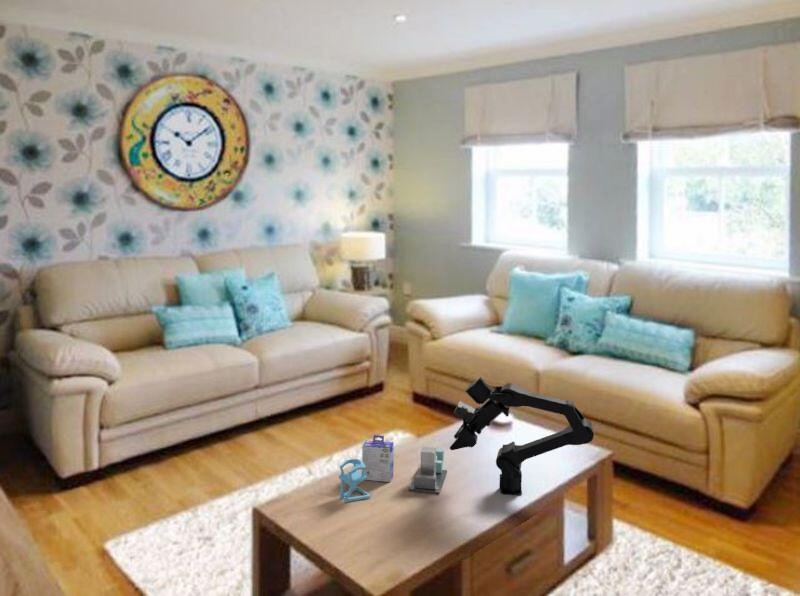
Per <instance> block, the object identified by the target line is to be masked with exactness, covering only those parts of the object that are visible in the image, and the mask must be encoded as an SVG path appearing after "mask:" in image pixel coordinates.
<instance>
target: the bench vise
mask: <svg viewBox="0 0 800 596" xmlns="http://www.w3.org/2000/svg"><path fill="white" fill-rule="evenodd" d="M447 474H448V470H447V469H442V473H436V476H428V475H421V467H417V469H416V472H415V474H414V476H413V478H412V480H411V483H410V486H409V488H408V492H413V493H422V494H431V495H440V494H441V490H442V489H443V486H444V483H445V479H446V476H447Z"/></svg>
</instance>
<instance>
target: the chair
mask: <svg viewBox="0 0 800 596" xmlns="http://www.w3.org/2000/svg"><path fill="white" fill-rule="evenodd" d="M348 464H351V465H353V467H352V468H351V469H350V470H349V471H348V472H345V471H344V469H343V468H344V467H345V466H346V465H348ZM338 467H339V469H340V472H341V473H340V474H339V475H338V478H339V479H340V493H339V500H344V501H343V502H344V503H345V502H346V503H349V502H348V501H350V502H354V501H353V500H356V501H362V500H367V499H370V498H371V494H370V493H368V492H367V491H365V490H363V489H362V488H361V487H359V486H358V484H360V483H361V482H363V481H368V480H367V477H366V476H365V475H364V471H365V467H366V466H365V465H364V463H363V462H362V460H361V459H358V458H351V459H347V460H345V461H344V462H342V464H340V465H339V466H338ZM359 470H362V471H359ZM346 484H347V485H348V486H349V488H348V491H345V489H346ZM356 489H357V490H356ZM353 491H354V492H355V491H358V492H360V493H361V492H362V494H363V495H358V496H352V497H350V496H351V495H352V494H353V493H354V492H353ZM352 492H353V493H352ZM364 494H365V495H364ZM344 497H345V498H344ZM342 498H344V499H342ZM366 498H367V499H366ZM361 499H362V500H361Z"/></svg>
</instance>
